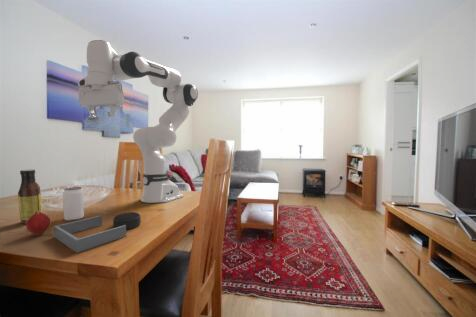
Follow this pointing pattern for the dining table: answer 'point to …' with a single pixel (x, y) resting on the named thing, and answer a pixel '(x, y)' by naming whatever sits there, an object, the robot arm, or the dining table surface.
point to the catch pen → (89, 241)
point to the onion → (38, 223)
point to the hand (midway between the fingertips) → (102, 117)
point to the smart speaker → (127, 220)
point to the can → (73, 203)
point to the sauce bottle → (29, 195)
